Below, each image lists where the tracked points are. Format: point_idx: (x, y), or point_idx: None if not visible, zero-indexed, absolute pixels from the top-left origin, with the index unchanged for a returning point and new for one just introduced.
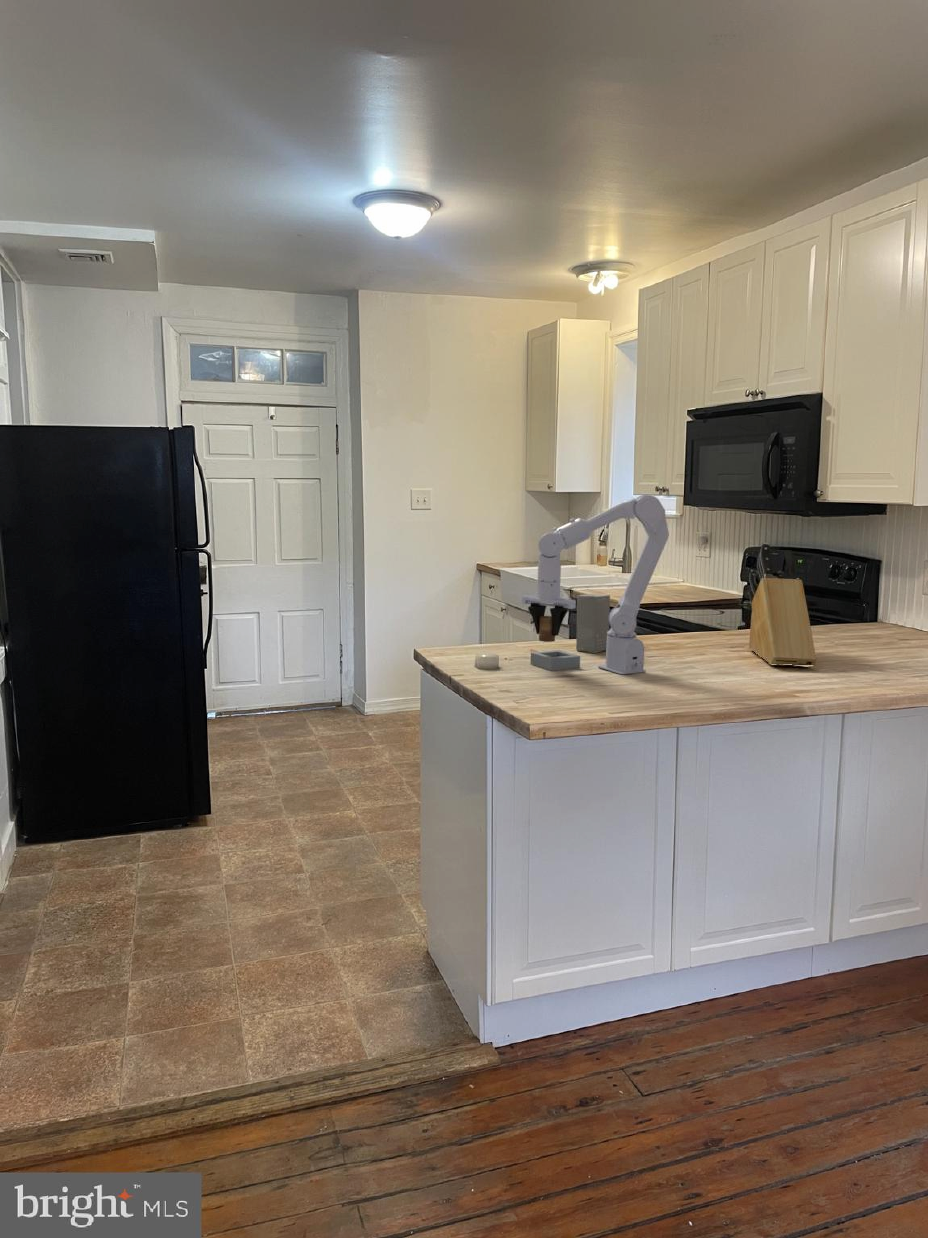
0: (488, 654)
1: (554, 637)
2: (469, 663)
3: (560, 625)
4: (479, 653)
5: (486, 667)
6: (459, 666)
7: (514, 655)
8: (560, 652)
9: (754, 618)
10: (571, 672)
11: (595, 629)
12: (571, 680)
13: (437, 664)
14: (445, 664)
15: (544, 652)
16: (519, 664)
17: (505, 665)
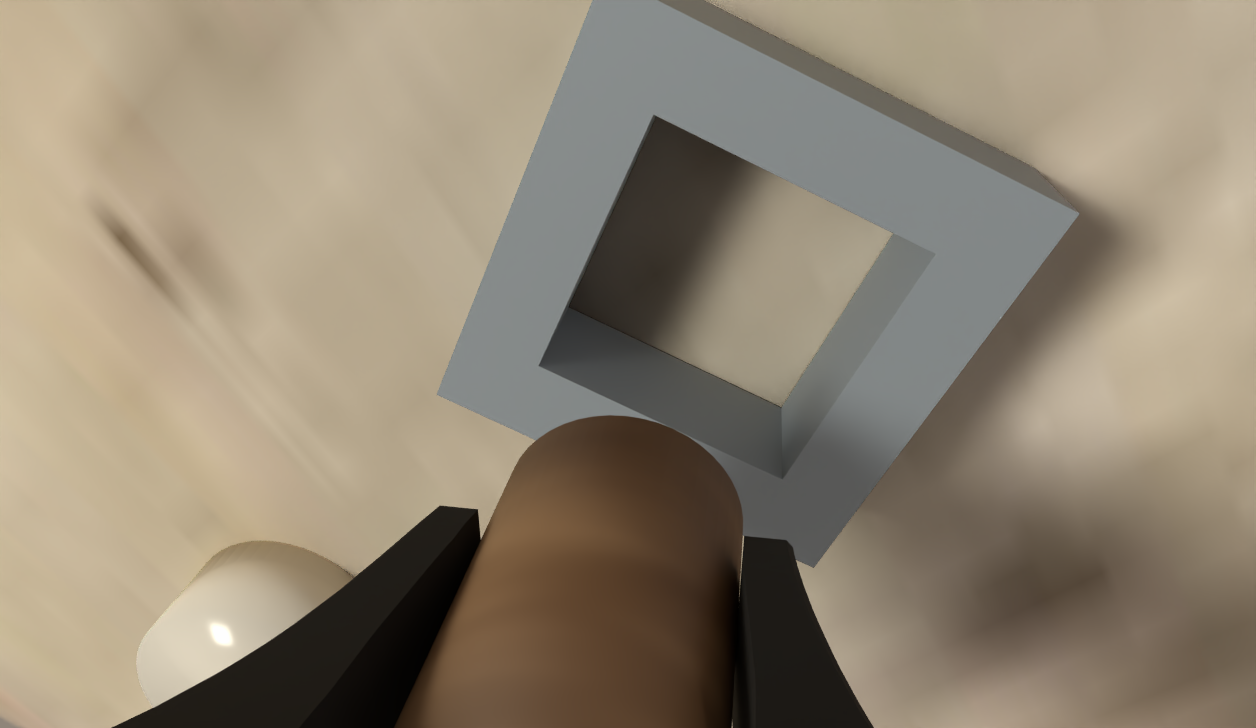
0: (223, 666)
1: (739, 547)
2: (124, 596)
3: (826, 659)
4: (151, 678)
5: None
6: None
7: (40, 15)
8: (712, 143)
9: None
10: (1024, 437)
11: None
12: (1134, 703)
13: (35, 722)
14: (62, 699)
15: (551, 293)
16: (413, 407)
17: (358, 511)
